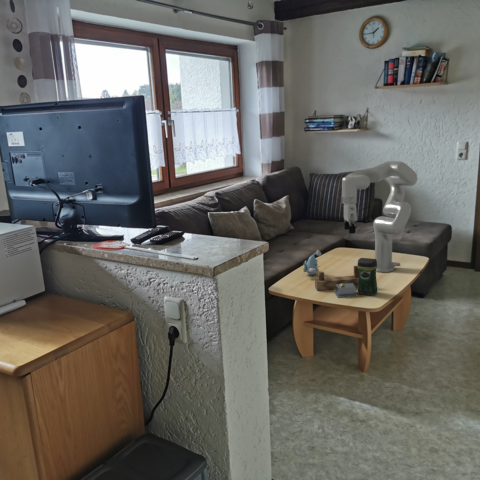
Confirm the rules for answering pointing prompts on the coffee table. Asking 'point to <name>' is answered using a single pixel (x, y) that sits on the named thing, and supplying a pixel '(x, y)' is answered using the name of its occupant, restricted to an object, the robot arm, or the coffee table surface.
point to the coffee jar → (367, 276)
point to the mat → (345, 295)
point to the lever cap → (345, 289)
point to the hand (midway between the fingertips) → (349, 231)
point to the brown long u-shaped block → (335, 281)
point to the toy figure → (311, 264)
